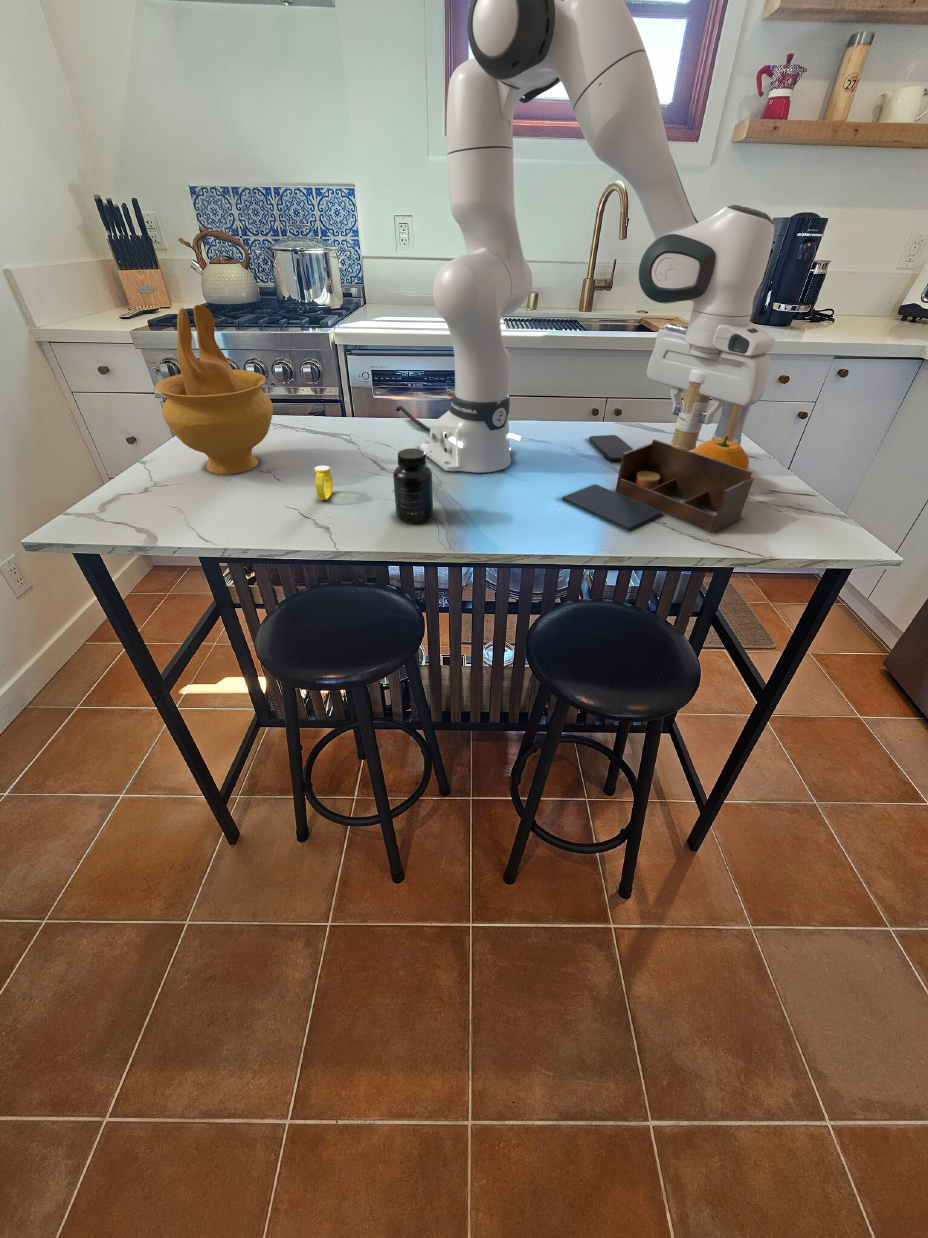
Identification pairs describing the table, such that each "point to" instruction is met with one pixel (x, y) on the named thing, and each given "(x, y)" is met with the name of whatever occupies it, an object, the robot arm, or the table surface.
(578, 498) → the rubber mat
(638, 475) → the spice tin
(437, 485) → the table surface
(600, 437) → the phone
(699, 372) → the sprinkles bottle
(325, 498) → the watch
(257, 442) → the decorative bowl
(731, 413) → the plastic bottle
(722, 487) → the spice rack
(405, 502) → the supplement bottle
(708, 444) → the fruit
